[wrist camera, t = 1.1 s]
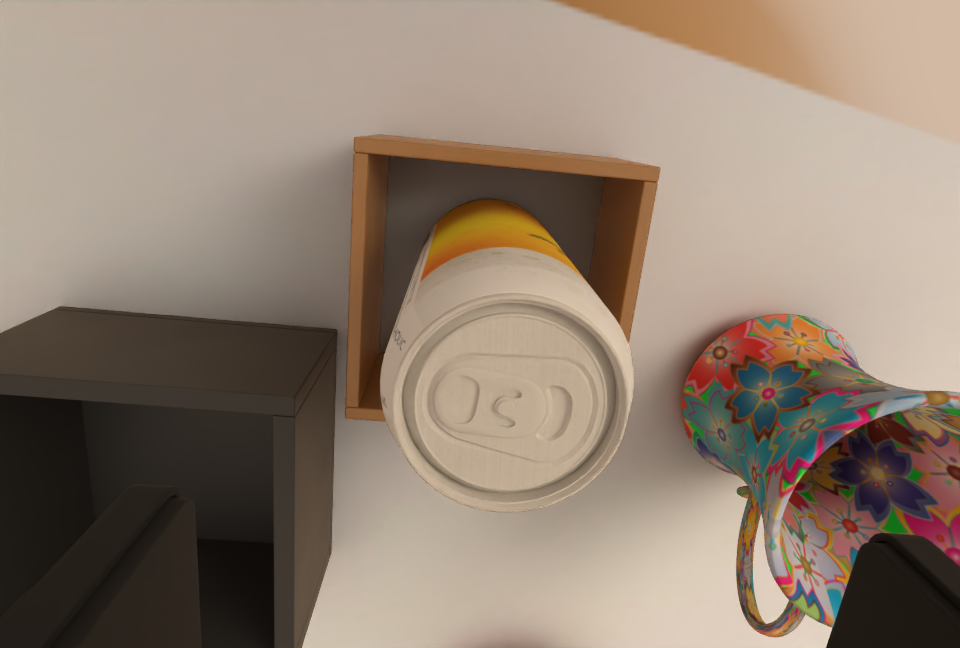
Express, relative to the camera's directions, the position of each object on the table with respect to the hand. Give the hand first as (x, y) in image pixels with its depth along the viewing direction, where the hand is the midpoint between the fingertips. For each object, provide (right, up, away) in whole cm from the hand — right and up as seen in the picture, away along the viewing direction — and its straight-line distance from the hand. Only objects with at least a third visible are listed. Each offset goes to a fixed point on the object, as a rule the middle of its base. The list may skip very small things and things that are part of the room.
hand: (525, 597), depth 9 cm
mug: (+13, -1, +22) cm, 25 cm away
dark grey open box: (-14, -2, +22) cm, 26 cm away
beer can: (0, +7, +19) cm, 21 cm away
